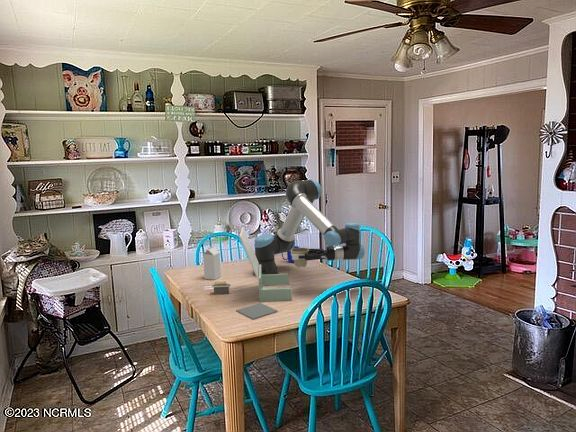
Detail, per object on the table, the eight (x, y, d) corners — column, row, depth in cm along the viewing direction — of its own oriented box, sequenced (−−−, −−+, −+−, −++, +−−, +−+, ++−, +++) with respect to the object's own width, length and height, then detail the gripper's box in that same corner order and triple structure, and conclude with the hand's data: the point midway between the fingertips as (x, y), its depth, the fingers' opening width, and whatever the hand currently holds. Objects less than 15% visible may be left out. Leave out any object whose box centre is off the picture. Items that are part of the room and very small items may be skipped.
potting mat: (236, 311, 209) (236, 310, 209) (260, 304, 217) (260, 302, 217) (253, 319, 198) (253, 318, 198) (277, 311, 207) (277, 310, 207)
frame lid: (243, 226, 241) (242, 227, 241) (240, 236, 215) (239, 236, 215) (258, 262, 245) (257, 263, 245) (257, 276, 219) (256, 277, 219)
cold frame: (288, 283, 248) (288, 263, 246) (291, 300, 222) (291, 277, 220) (259, 285, 247) (259, 264, 245) (259, 301, 221) (258, 278, 219)
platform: (206, 291, 241) (205, 279, 240) (239, 289, 242) (238, 278, 241) (203, 298, 229) (202, 286, 228) (238, 296, 230) (237, 284, 229)
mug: (281, 260, 298) (280, 246, 296) (298, 259, 299) (298, 245, 297) (282, 264, 290) (281, 249, 288) (300, 263, 291) (299, 248, 289)
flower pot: (308, 268, 227) (307, 252, 225) (290, 268, 228) (289, 251, 227) (310, 263, 236) (310, 247, 234) (293, 263, 238) (293, 247, 236)
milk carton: (220, 276, 266) (219, 245, 263) (215, 280, 259) (213, 248, 256) (210, 275, 268) (208, 245, 265) (204, 279, 261) (202, 247, 259)
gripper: (337, 265, 222) (292, 267, 221) (331, 255, 243) (290, 256, 242) (337, 250, 221) (292, 252, 220) (331, 241, 242) (290, 243, 241)
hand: (291, 254), depth 231 cm, fingers closed on flower pot, 8 cm apart
